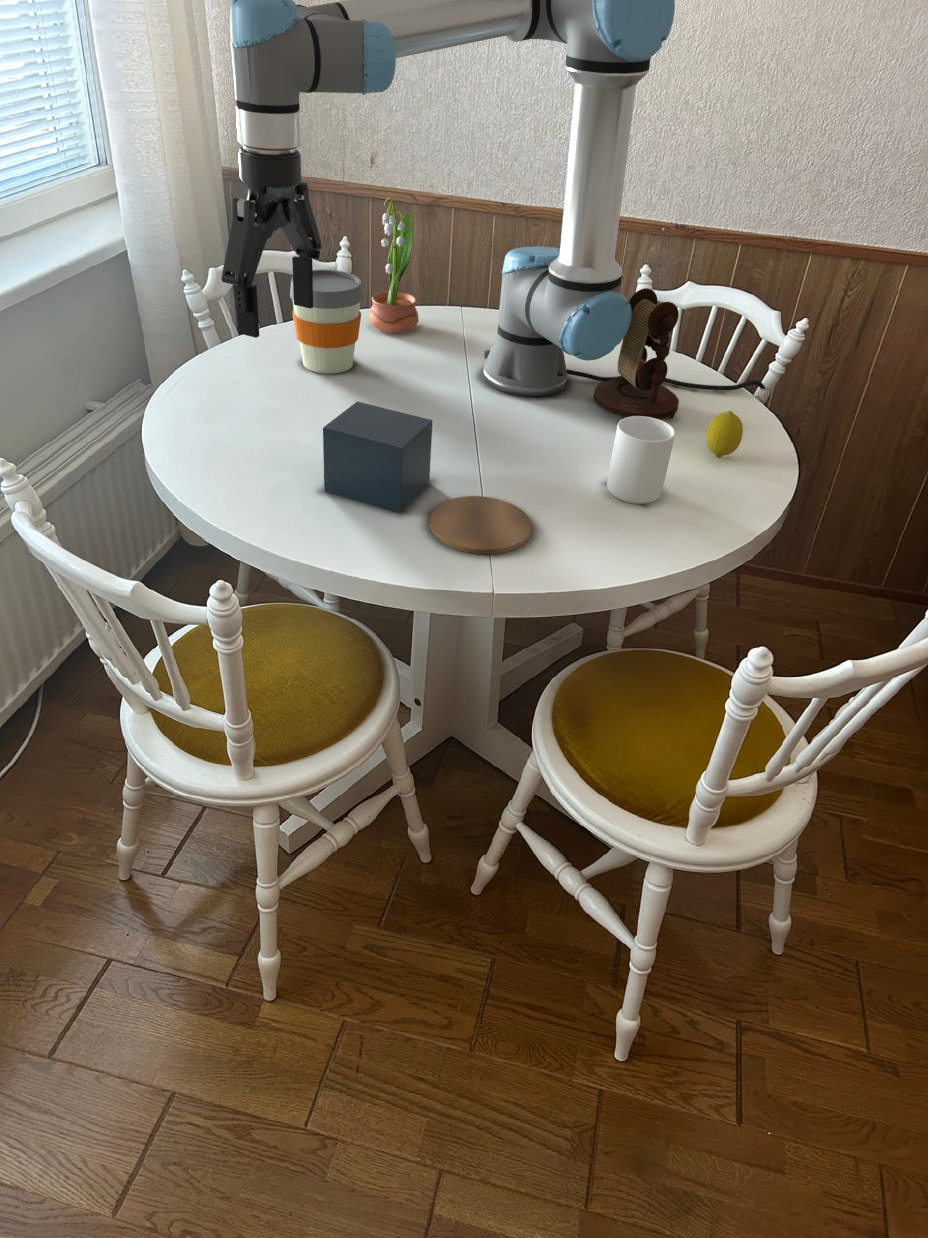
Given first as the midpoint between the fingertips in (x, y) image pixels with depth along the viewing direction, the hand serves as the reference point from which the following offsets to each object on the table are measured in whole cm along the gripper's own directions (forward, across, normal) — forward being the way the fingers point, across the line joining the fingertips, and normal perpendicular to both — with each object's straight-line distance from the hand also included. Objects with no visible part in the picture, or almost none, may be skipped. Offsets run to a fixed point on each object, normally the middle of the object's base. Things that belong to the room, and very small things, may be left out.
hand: (277, 320), depth 125 cm
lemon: (+21, -36, +59) cm, 72 cm away
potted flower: (+21, -58, -11) cm, 63 cm away
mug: (+21, -20, +48) cm, 56 cm away
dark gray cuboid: (+21, 0, +16) cm, 26 cm away
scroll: (+21, -47, +42) cm, 66 cm away
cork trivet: (+21, +3, +33) cm, 39 cm away
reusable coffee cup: (+21, -36, -13) cm, 43 cm away
